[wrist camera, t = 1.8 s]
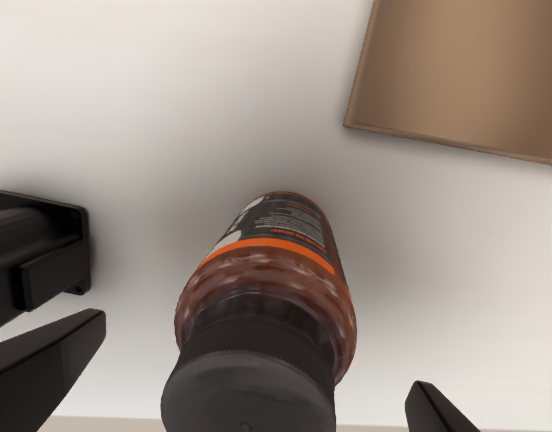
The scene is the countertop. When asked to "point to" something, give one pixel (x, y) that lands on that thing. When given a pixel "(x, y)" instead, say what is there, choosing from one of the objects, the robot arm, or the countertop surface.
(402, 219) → the countertop surface
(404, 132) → the walnut block
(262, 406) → the supplement bottle
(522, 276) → the countertop surface
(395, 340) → the countertop surface
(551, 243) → the countertop surface
